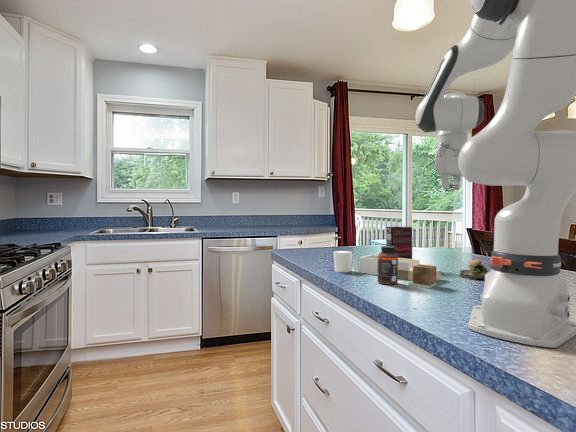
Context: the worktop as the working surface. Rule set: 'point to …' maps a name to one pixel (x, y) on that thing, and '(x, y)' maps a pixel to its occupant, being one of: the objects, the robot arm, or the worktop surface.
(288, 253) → the worktop surface
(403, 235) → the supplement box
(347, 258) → the white cylinder
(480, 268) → the burger
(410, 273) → the trough
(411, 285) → the coaster
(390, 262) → the supplement bottle
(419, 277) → the walnut block
